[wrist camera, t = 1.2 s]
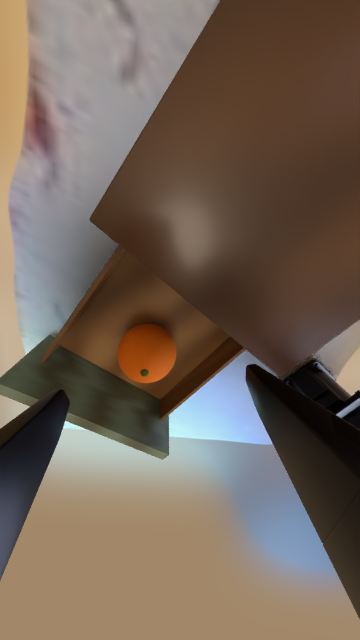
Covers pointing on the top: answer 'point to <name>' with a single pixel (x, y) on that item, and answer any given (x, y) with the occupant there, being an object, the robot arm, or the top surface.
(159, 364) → the orange
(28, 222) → the top surface
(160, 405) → the drawer
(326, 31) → the cabinet
